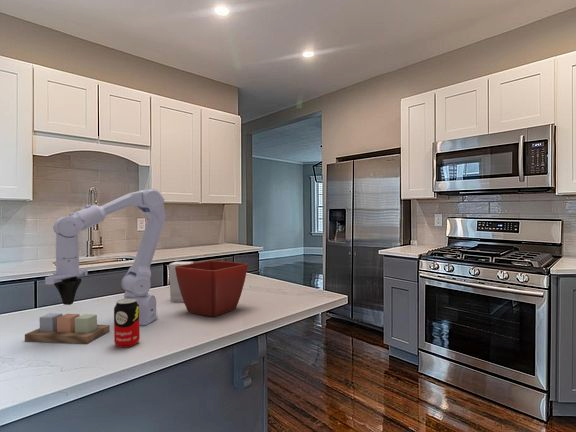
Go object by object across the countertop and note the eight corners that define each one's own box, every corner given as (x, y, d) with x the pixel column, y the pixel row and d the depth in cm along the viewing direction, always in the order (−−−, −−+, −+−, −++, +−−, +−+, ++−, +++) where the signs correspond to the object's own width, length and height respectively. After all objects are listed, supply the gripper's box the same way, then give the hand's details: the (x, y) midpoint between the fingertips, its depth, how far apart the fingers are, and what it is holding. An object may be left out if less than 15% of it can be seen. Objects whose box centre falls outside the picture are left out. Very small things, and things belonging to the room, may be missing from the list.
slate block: (62, 328, 107) (62, 313, 107) (52, 332, 103) (52, 317, 103) (50, 327, 107) (50, 313, 107) (39, 332, 103) (39, 317, 103)
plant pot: (211, 301, 143) (210, 259, 143) (249, 308, 134) (249, 263, 133) (173, 313, 127) (173, 266, 127) (214, 321, 117) (213, 270, 117)
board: (109, 331, 108) (109, 325, 108) (87, 343, 98) (87, 336, 98) (52, 329, 110) (52, 323, 110) (24, 341, 100) (24, 334, 100)
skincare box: (195, 298, 148) (194, 261, 148) (189, 302, 141) (188, 263, 141) (175, 298, 149) (175, 261, 149) (169, 302, 142) (168, 263, 142)
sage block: (97, 329, 105) (96, 314, 105) (87, 334, 101) (87, 318, 101) (84, 328, 106) (84, 314, 106) (75, 333, 102) (74, 318, 102)
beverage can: (111, 344, 98) (110, 300, 98) (134, 338, 102) (133, 296, 102) (119, 350, 94) (118, 305, 93) (143, 344, 98) (142, 300, 98)
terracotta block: (79, 328, 106) (79, 314, 106) (70, 333, 102) (69, 318, 102) (67, 328, 106) (67, 313, 106) (57, 332, 102) (57, 317, 102)
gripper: (72, 254, 111) (73, 297, 112) (34, 261, 97) (35, 310, 97) (93, 254, 111) (94, 298, 111) (58, 261, 96) (59, 311, 97)
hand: (68, 304), depth 104 cm, fingers closed
